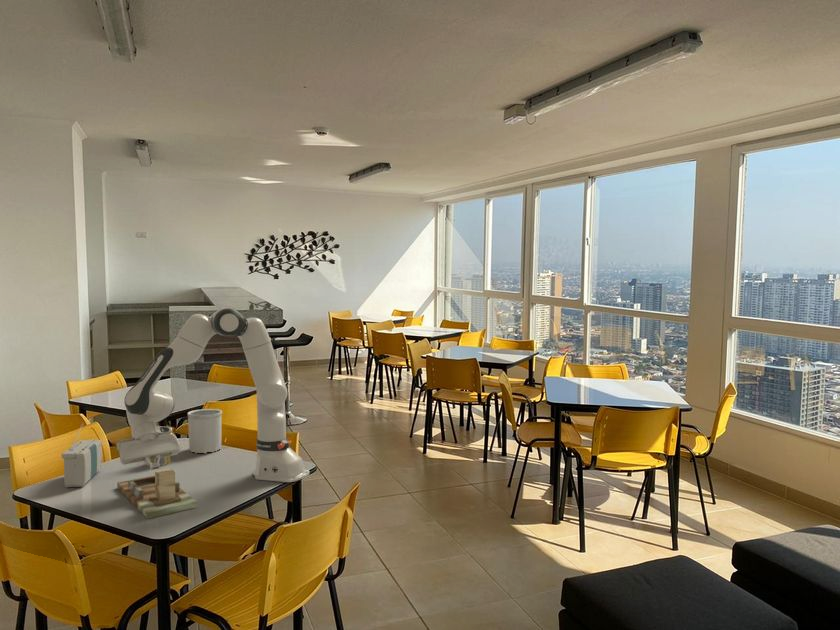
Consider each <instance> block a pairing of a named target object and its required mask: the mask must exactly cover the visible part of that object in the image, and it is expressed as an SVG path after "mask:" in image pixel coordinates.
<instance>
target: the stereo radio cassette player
mask: <svg viewBox="0 0 840 630" xmlns="http://www.w3.org/2000/svg"><path fill="white" fill-rule="evenodd" d="M83 425H84V423H81V426H80V428H79V430H78V431H77V433H76V436H75V438H74V440H73V443H72V445H71V447H69V448H68V449H66V450H65V451H63V453H61V459H63V472H64V473H63V474H64V475H63V479H64V481H63V482H64V487H65V488H79V487H80V488H83V487H84V486H86V484H87V483H88V482H89V481H90V480H91V479H92V478H93V477H94V476H96V475H97V473H99V472H100V471H101V470H102V467H103V447H102V446H103V445H102V440H101V439H81V440H78V442H76V441H77V439H78V436H79V434H80V431H81V429H82V427H83Z"/></svg>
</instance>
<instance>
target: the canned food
mask: <svg viewBox="0 0 840 630" xmlns="http://www.w3.org/2000/svg"><path fill="white" fill-rule="evenodd" d="M149 461H150V462H151V463H156V462H157V461H156V460H155V459H151V460H149ZM169 464H171V456H167V457H162V458H160V461H159V465H160V467H163V466H167V465H169Z"/></svg>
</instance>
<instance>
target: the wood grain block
mask: <svg viewBox="0 0 840 630" xmlns="http://www.w3.org/2000/svg"><path fill="white" fill-rule="evenodd" d="M154 476H155V496H150V497H149V499H150V500H151V501H152V502H153V503H154V504H155V505H157V506H158V505H163V504H167V503H172V502H176V501H181V497H179V496H178V495H177V494H176V493H175V480H176V472H175V471H174V470H173V469H172V468H165V469H164V468H163V469H159V470H155V471H154Z"/></svg>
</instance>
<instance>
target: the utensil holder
mask: <svg viewBox="0 0 840 630" xmlns="http://www.w3.org/2000/svg"><path fill="white" fill-rule="evenodd" d="M222 415H223V410H221V409H219V408H202V409H195V410H191V411H188V412H187V419H188V420H187V421H188V423H187V424H188V447H189V448H188V449H189V452H190V451H191V452H190V453H192V452H195V453H194V454H197V453H204V454H208V453H207V452H212V453H214V452H213V451H216V452H218V451H217V450H219V449H220V448H221V449H222V419H223V418H222ZM221 449H220V450H221ZM220 450H219V451H220Z"/></svg>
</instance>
